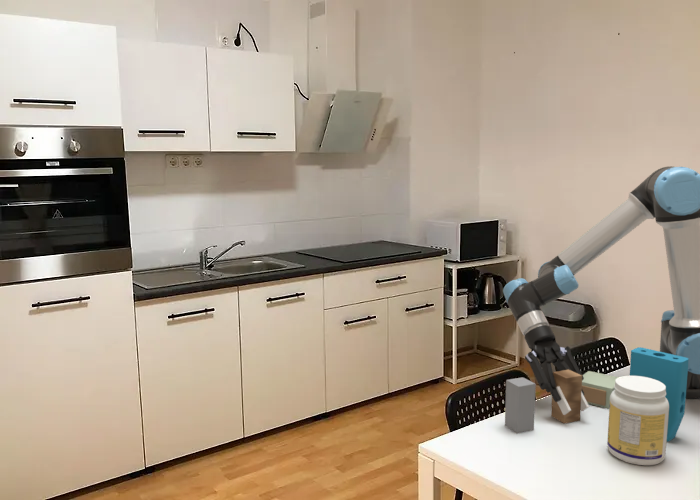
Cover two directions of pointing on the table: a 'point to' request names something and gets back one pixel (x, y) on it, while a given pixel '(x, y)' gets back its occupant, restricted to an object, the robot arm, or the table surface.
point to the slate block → (520, 405)
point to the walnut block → (568, 395)
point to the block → (664, 380)
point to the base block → (598, 388)
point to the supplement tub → (638, 420)
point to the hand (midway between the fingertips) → (576, 410)
